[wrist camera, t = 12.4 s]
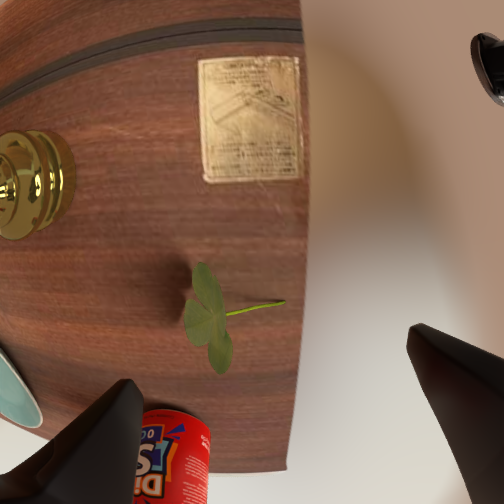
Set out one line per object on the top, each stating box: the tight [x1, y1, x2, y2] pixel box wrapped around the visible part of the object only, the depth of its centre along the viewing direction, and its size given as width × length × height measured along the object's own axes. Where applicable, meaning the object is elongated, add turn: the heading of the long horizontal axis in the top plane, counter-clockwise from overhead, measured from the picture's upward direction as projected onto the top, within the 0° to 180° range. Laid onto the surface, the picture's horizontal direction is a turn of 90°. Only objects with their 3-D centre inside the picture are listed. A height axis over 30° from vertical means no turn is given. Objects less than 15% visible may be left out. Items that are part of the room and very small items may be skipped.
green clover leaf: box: [184, 262, 286, 374], centre depth 19 cm, size 7×8×6 cm
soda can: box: [133, 409, 211, 504], centre depth 18 cm, size 8×8×15 cm
